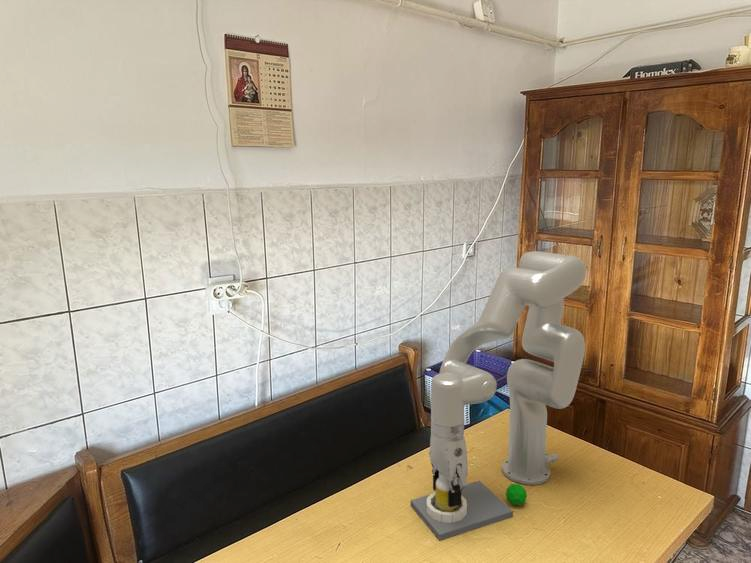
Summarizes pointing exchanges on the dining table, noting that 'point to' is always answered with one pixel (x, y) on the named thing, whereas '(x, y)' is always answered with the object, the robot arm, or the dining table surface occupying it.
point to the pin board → (475, 511)
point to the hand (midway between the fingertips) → (446, 496)
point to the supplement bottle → (443, 494)
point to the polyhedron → (516, 494)
